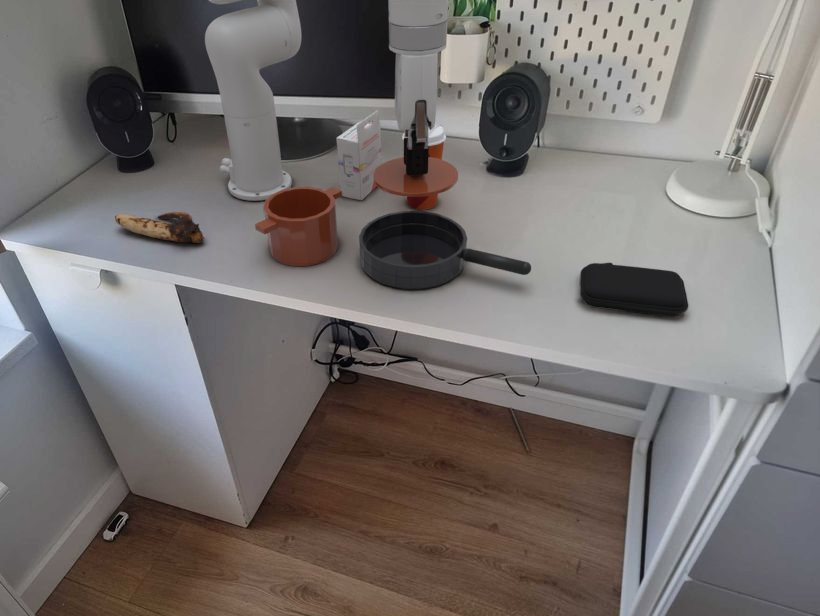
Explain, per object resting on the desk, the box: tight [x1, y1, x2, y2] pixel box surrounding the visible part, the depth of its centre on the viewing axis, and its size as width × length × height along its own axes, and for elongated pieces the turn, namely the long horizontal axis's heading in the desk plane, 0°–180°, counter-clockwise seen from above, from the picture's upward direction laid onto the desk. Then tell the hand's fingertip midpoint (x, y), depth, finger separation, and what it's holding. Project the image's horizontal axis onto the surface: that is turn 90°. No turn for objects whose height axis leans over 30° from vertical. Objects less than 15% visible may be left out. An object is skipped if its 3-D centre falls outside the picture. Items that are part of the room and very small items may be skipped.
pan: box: [358, 210, 468, 290], centre depth 105 cm, size 17×17×4 cm
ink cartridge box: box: [335, 109, 382, 201], centre depth 121 cm, size 9×5×15 cm, turn 150°
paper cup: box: [401, 123, 447, 211], centre depth 116 cm, size 8×8×14 cm
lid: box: [373, 141, 459, 198], centre depth 95 cm, size 13×13×6 cm
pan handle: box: [462, 247, 532, 276], centre depth 98 cm, size 11×2×2 cm, turn 62°
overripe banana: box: [114, 211, 205, 244], centre depth 115 cm, size 9×5×18 cm
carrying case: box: [579, 262, 689, 317], centre depth 96 cm, size 11×3×15 cm
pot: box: [254, 186, 343, 267], centre depth 108 cm, size 12×17×8 cm
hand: (415, 167), depth 95 cm, fingers closed on lid, 2 cm apart
